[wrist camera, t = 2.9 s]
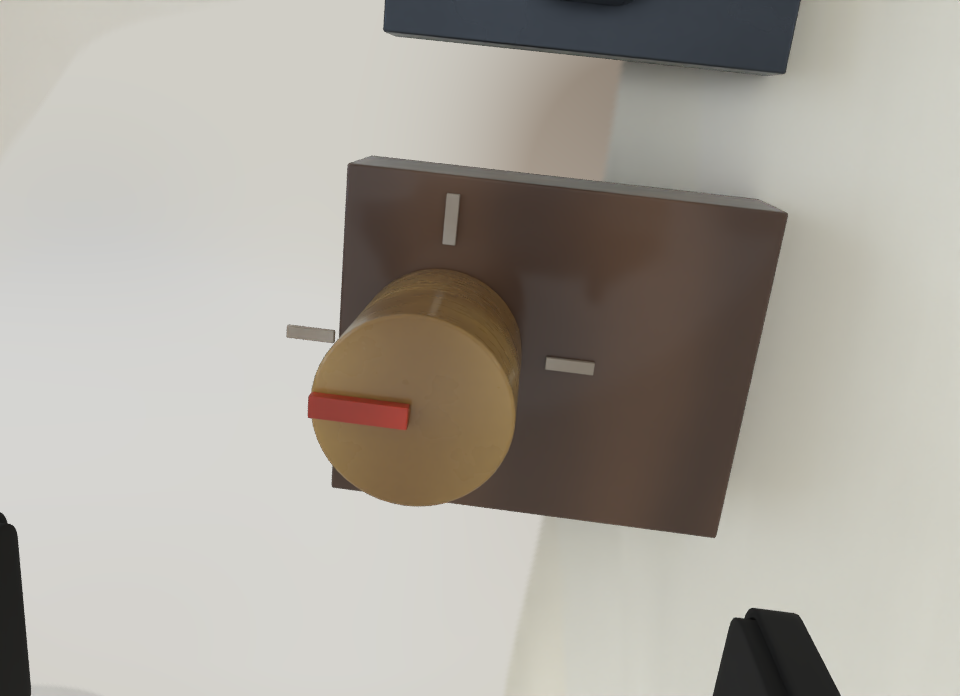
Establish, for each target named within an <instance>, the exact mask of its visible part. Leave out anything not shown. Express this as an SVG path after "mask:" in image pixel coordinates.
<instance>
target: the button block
mask: <svg viewBox="0 0 960 696" xmlns="http://www.w3.org/2000/svg"><path fill="white" fill-rule="evenodd" d="M800 1H801V0H385V11H384V27H383V30H384V31H385V32H387V33H389V34H391V35H394V36H398V37H407V38H416V39H426V40H435V41H445V42H454V43H463V44H473V45H482V46H493V47H501V48H510V49H521V50H530V51H539V52H548V53H558V54H567V55H576V56H586V57H596V58H605V59H614V60H623V61H633V62H642V63H652V64H661V65H671V66H680V67H689V68H699V69H708V70H718V71H727V72H737V73H746V74H755V75H765V76H770V75H779V74H785V72H786V68H787V63H788V58H789V53H790V49H791V44H792V39H793V35H794V30H795V25H796V20H797V16H798V11H799V6H800Z"/></svg>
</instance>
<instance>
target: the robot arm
mask: <svg viewBox="0 0 960 696" xmlns="http://www.w3.org/2000/svg"><path fill="white" fill-rule="evenodd" d="M0 696H31V683H30V672H29V660H28V650H27V638H26V626H25V615H24V604H23V592H22V581H21V570H20V558H19V548H18V536H17V532H16V529H15V527H14V526H13V525H11V524H7V520H6V518H5V516H4V515H3V514H2V513H0ZM713 696H841V695H840V693H839V691H838V689H837V687H836V685H835V683H834V681H833V680H832V678H831V676H830V674H829V672H828V670H827V668H826V666H825V664H824V662H823V660H822V658H821V656H820V654H819V652H818V650H817V648H816V646H815V644H814V642H813V641H812V639H811V637H810V635H809V633H808V631H807V629H806V627H805V625H804V623H803V621H802V619H801V618H800V617H799V615H797V614H795V613H788V612H781V611H773V610H765V609H757V608H751V609H749V610H748V612H747V613H746V615H745V618H744V619H743V618H734V619H733V620H732V621H731V623H730V626H729V630H728V634H727V639H726V643H725V647H724V651H723V655H722V659H721V664H720V668H719V672H718V676H717V680H716V684H715V689H714V693H713Z"/></svg>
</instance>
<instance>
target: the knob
mask: <svg viewBox="0 0 960 696" xmlns="http://www.w3.org/2000/svg"><path fill="white" fill-rule="evenodd" d="M521 357H522V345H521V337H520V333H519V329H518V326H517V323H516V320H515V318H514V316H513V314H512V313H511V311H510V309H509V308H508V306H507V305H506V303H505V302H504V301H503V300H502V299H501V297H500V296H499V295H498V294H497V293H496V292H495V291H493V290H492V289H491V288H490V287H489V286H487V285H486V284H484V283H483V282H481V281H480V280H478V279H476V278H474V277H471V276H469V275H467V274H464V273H460V272H457V271H452V270H447V269H427V270H421V271H416V272H412V273H409V274H406V275H404V276H402V277H400V278H398V279H396V280H394V281H392V282H391V283H390V284H388V285H387V286H385V287H384V288H383V289H382V290H381V291H380V292H379V293H378V294H377V295H376V296H375V297H374V298H373V299H372V301H371V302H370V303H369V304H368V305H367V306H366V308H365V309H364V310H363V311H362V312H361V313H360V315H359V316H358V317H357V318H356V319H355V320H354V321H353V323H352V324H351V325H350V326H349V327H348V328H347V330H346V331H345V332H344V333H343V334H342V335H341V337H340V338H339V339H338V340H337V341H336V342H335V343H334V345H333V346H332V347H331V349H330V350H329V351H328V352H327V353H326V355H325V357H324V358H323V360H322V362H321V363H320V365H319V368H318V370H317V372H316V375H315V378H314V382H313V386H312V392H311V394H310V395H309V397H308V418H312V423H313V427H314V431H315V434H316V437H317V440H318V442H319V444H320V446H321V448H322V450H323V452H324V454H325V455H326V457H327V458H328V460H329V461H330V463H331V464H332V465H333V466H334V468H335V469H336V470H337V471H338V472H339V473H340V474H341V475H342V476H343V477H344V478H345V479H346V480H347V481H349V482H350V483H351V484H353V485H354V486H355V487H357V488H358V489H360V490H362V491H363V492H365V493H367V494H369V495H371V496H373V497H376V498H378V499H380V500H384V501H387V502H390V503H394V504H400V505H404V506H432V505H438V504H443V503H447V502H450V501H453V500H456V499H458V498H461V497H463V496H465V495H467V494H469V493H470V492H472V491H474V490H475V489H477V488H478V487H480V486H481V485H482V484H483V483H485V482H486V481H487V480H488V479H489V478H490V477H491V476H492V475H493V474H494V473H495V472H496V470H497V469H498V468H499V466H500V465H501V463H502V462H503V460H504V458H505V456H506V455H507V453H508V451H509V448H510V445H511V442H512V439H513V435H514V430H515V423H516V412H517V401H518V391H519V380H520V369H521Z"/></svg>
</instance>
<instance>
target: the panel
mask: <svg viewBox="0 0 960 696" xmlns="http://www.w3.org/2000/svg"><path fill="white" fill-rule="evenodd" d="M346 189H347V190H346V208H345V228H344V249H343V268H342V269H343V270H342V288H341V308H340V309H341V310H340V328H339V338H340V337H341V335H342V334H343V333H344V332H345V331H346V330H347V328H348V327H349V326H350V325H351V324H352V323H353V321H354V320H355V319H356V318H357V317H358V316H359V315H360V313H361V312H362V311H363V310H364V309H365V308H366V306H367V305H368V304H369V303H370V302H371V301H372V299H373V298H374V297H375V296H376V295H377V294H378V293H379V292H380V291H381V290H382V289H383V288H384V287H385V286H387V285H388V284H390V283H391V282H392V281H394V280H396V279H398V278H400V277H402V276H404V275H406V274H409V273H412V272H416V271H421V270H427V269H447V270H452V271H457V272H460V273H464V274H467V275H469V276H471V277H474V278H476V279H478V280H480V281H481V282H483V283H484V284H486V285H487V286H489V287H490V288H491V289H492V290H493V291H495V292H496V293H497V294H498V295H499V296H500V297H501V299H502V300H503V301H504V302H505V303H506V305H507V306H508V308H509V309H510V311H511V313H512V314H513V316H514V318H515V320H516V323H517V326H518V329H519V333H520V337H521V345H522V357H521V369H520V380H519V391H518V401H517V412H516V423H515V430H514V435H513V439H512V442H511V445H510V448H509V451H508V453H507V455H506V456H505V458H504V460H503V462H502V463H501V465H500V466H499V468H498V469H497V470H496V472H495V473H494V474H493V475H492V476H491V477H490V478H489V479H488V480H487V481H486V482H485V483H483V484H482V485H481V486H480V487H478V488H477V489H475V490H474V491H472V492H470V493H469V494H467V495H465V496H463V497H461V498H458V499H456V500H453V501H450V502H447V503H454V504H462V505H470V506H477V507H484V508H492V509H499V510H507V511H514V512H523V513H530V514H537V515H545V516H552V517H560V518H567V519H575V520H582V521H590V522H598V523H605V524H613V525H620V526H628V527H635V528H643V529H650V530H658V531H666V532H673V533H681V534H688V535H696V536H703V537H711V538H715V537H716V535H717V530H718V526H719V521H720V517H721V512H722V508H723V504H724V499H725V495H726V490H727V486H728V481H729V477H730V472H731V468H732V463H733V459H734V454H735V450H736V446H737V441H738V437H739V432H740V428H741V423H742V419H743V414H744V410H745V405H746V401H747V396H748V392H749V387H750V383H751V379H752V374H753V370H754V365H755V361H756V356H757V352H758V347H759V343H760V338H761V334H762V329H763V325H764V321H765V316H766V312H767V307H768V303H769V298H770V294H771V289H772V285H773V280H774V276H775V271H776V267H777V262H778V258H779V254H780V249H781V245H782V240H783V236H784V231H785V227H786V222H787V218H788V213H786V212H784V211H782V210H780V209H778V208H776V207H774V206H771V205H769V204H767V203H765V202H763V201H761V200H759V199H751V198H742V197H733V196H724V195H716V194H707V193H698V192H689V191H680V190H671V189H663V188H654V187H645V186H636V185H627V184H618V183H610V182H601V181H592V180H583V179H574V178H565V177H556V176H547V175H539V174H529V173H521V172H512V171H503V170H495V169H486V168H477V167H468V166H459V165H450V164H442V163H432V162H423V161H415V160H406V159H397V158H388V157H379V156H370V157H367V158H364V159H361V160H358V161H355V162H352V163H349V164H348V168H347V188H346ZM287 337H288V338H296V339H305V340H312V341H320V342H328V343H334V342H335V330H329V329H321V328H312V327H304V326H296V325H287ZM332 487H333V488H342V489H348V490H356V491H362V490H360V489H358V488H357V487H355V486H354V485H353V484H351V483H350V482H349V481H347V480H346V479H345V478H344V477H343V476H342V475H341V474H340V473H339V472H338V471H337V470H336V469H335V468H334V466H333V467H332Z"/></svg>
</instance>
